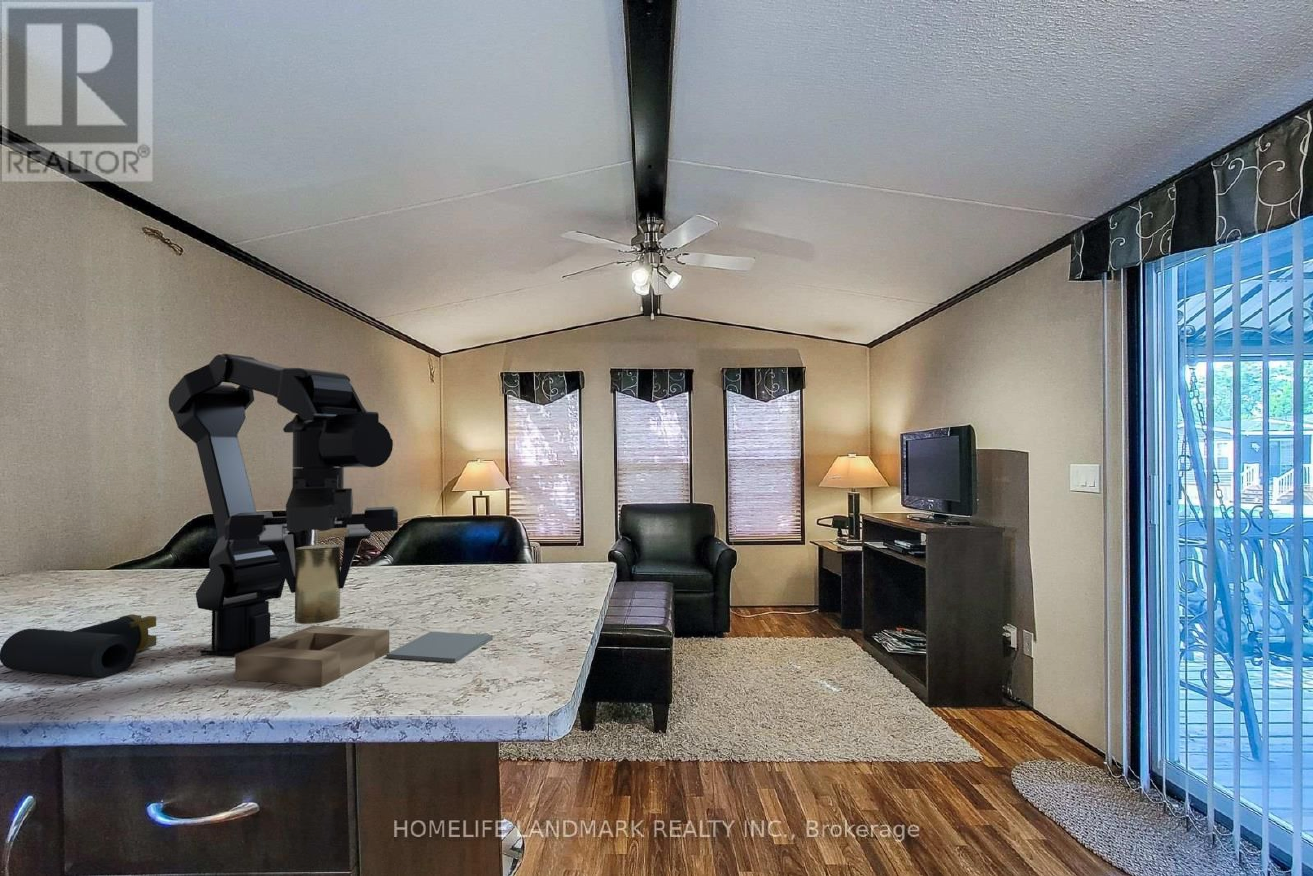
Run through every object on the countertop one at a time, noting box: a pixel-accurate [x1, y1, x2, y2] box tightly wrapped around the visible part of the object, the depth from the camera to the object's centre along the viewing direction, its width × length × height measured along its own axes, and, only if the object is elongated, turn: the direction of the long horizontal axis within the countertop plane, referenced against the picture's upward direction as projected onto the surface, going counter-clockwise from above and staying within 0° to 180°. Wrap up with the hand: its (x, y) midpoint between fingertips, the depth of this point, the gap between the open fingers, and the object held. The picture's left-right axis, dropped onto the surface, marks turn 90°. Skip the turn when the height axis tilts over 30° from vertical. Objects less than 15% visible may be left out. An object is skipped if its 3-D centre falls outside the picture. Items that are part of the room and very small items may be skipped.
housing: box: [234, 625, 390, 687], centre depth 75 cm, size 12×12×3 cm
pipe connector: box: [0, 613, 157, 679], centre depth 77 cm, size 12×5×15 cm
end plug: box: [294, 544, 341, 625], centre depth 75 cm, size 5×5×9 cm
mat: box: [385, 631, 494, 663], centre depth 81 cm, size 10×10×1 cm
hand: (317, 590), depth 75 cm, fingers closed on end plug, 5 cm apart
